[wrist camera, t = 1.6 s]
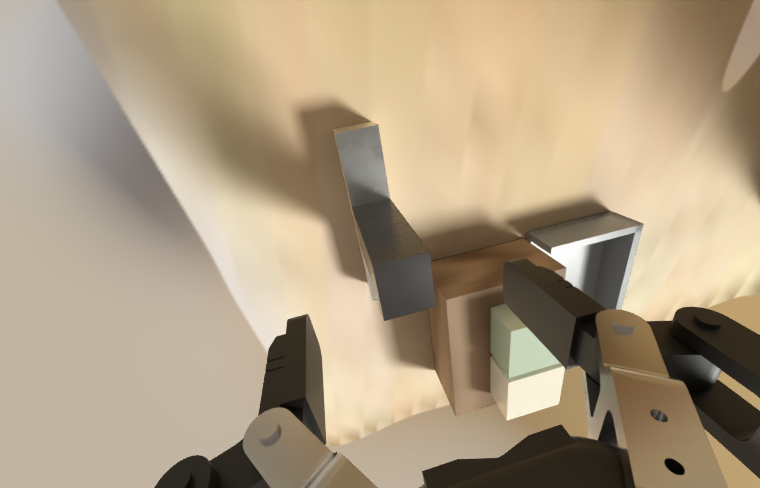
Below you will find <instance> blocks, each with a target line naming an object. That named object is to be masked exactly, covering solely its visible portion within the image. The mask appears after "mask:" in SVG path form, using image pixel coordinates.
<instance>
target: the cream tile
mask: <svg viewBox="0 0 760 488" xmlns="http://www.w3.org/2000/svg"><path fill="white" fill-rule="evenodd" d="M564 370H565V367H564V366H563V365H562V364H561V363H558V364H554V365H551V366H548V367H544V368H541V369H538V370H534V371H531V372H528V373H525V374H521V375H518V376H515V377H511V378H508V377H507V375H506V374H505V372H504V371H503V369H502V368H501V366H500V365H499V364H498V362H497V361H496V359H495V358H494V356H491V378H490V393H491V395H492V397H493V398H494V400H495V402H496V403H497V405H498V407H499V408H500V410H501V411H502V413H503V415H504V417H505V418H506V420H510V419H513V418H516V417H519V416H522V415H526V414H529V413H531V412H535V411H538V410H541V409H545V408H547V407H551V406H554V405H557V404H559V399H560V393H561V387H562V382H563V376H564Z"/></svg>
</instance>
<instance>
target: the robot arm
mask: <svg viewBox="0 0 760 488" xmlns="http://www.w3.org/2000/svg"><path fill="white" fill-rule="evenodd" d="M503 298H504V301H505V303H506V305H507V306H508V307H509V309H510V310H511V311H512V312H513V313H514V314H515V315H516V316H517V317H518V318H519V319H520V320H521V321H522V322H523V324H524V325H525V326H526V327H527V328H528V329H529V330H530V331H531V332H532V333H533V334H534V335H535V336H536V337H537V338H538V340H539V341H540V342H541V343H542V344H543V345H544V346H545V347H546V348H547V349H548V350H549V351H550V352H551V353H552V355H553V356H554V357H555V358H556V359H557V360H558V361H559V362H560V363H561V364H562V365H563V366H564V367H565V368H566V369H570V368H573V367H576V366H580V367H581V368H582V369H583V370H584V371H583V385H584V394H585V403H586V412H587V422H588V436H587V438H586V437H578V436H570V435H569V434H568V433H567V431H566V430H565V429H564V427H563V426H562V425H558V426H555V427H552V428H549V429H547V430H543V431H540V432H538V433H535V434H532V435H529V436H527V437H526V438H525V439H523V440H522V441H521V442H520V443H518V444H517V445H516V446H514V447H513V448H512V449H511V450H509V451H508V452H507V453H505V454H504V455H503V456H501V457H499V458H484V459H457V460H454V461H451V462H449V463H446V464H443V465H440V466H437V467H434V468H431V469H428V470H425V471H422V473H423V478H424V483H425V484H424V485H422V486H421V487H419V488H728V486H727V484H726V481H725V479H724V476H723V474H722V472H721V469H720V467H719V464H718V462H717V459H716V457H715V455H714V453H713V450H712V448H711V445H710V442H709V440H708V438H707V435H706V433H705V431H704V429H705V430H707V431H708V432H709V433H710V434H711V435H712V436H713V437H714V438H715V439H717V440H718V441H719V442H720V443H721V444H722V445H723V446H724V447H725V448H726V449H728V450H729V451H730V452H731V453H732V454H733V455H734V456H735V457H736V458H738V459H739V460H740V461H741V462H742V463H743V464H744V465H745V466H746V467H747V468H749V469H750V470H751V471H752V472H753V473H754V474H755V475H756V476H757V477H758V478H760V411H759V410H758V409H756V408H755V407H754V406H752V405H751V404H750V403H748V402H747V401H746V400H744V399H743V398H742V397H740V396H739V395H738V394H736V393H735V392H734V391H732V390H731V389H730V388H728V387H727V386H726V385H724V384H723V383H722V382H720V381H719V380H718V377H719V375H720V373H721V371H723V372H725V373H726V374H728V375H729V376H730V377H732V378H733V379H735V380H736V381H738V382H739V383H740V384H742V385H743V386H744V387H746V388H747V389H749V390H750V391H751V392H753V393H755V394H756V395H757V396H758V397H759V398H760V335H758V334H757V333H755V332H753V331H751V330H750V329H748V328H746V327H744V326H742V325H741V324H739V323H737V322H736V321H734V320H732V319H730V318H729V317H727V316H725V315H723V314H720V313H718V312H715V311H712V310H709V309H705V308H699V307H684V308H681V309H679V310H677V311H676V313H675V315H674V318H673V321H645V320H644V319H642V318H641V317H639V316H637V315H635V314H633V313H630V312H627V311H623V310H617V309H608V310H607V309H606V308H604V307H603V306H601V305H600V304H599V303H597V302H596V301H594V300H593V299H592V298H590V297H589V296H588V295H586V294H585V293H583V292H582V291H581V290H579V289H578V288H577V287H574V286H573V285H572V284H571V283H570V282H568V281H567V280H566V281H565V279H564V278H563V277H561V276H560V275H559V274H557V273H556V272H554V271H552V270H550V269H547V268H544V267H542V266H538V267H537V266H536V265H535V264H533V263H532V262H531V261H529V260H528V259H527V258H524V257H523V258H519V259H515V260H511V261H508V262H505V263H504V266H503ZM325 444H326V430H325V410H324V391H323V371H322V356H321V350H320V346H319V343H318V340H317V337H316V334H315V331H314V329H313V326H312V323H311V320H310V317H309V315H308V314H306V315H302V316H298V317H295V318H291V319H288V320H287V329H286V334H284V335H281V336H277V337H276V338H275V339H274V341H273V343H272V344H271V346H270V348H269V351H268V357H267V364H266V374H265V377H264V383H263V390H262V396H261V403H260V409H259V415H258V417H257V418H256V419H255V420H254V421H253V422H252V423H251V424H250V426H249V427H248V429H247V431H246V433H245V436H244V438H243V439H242V440H241V441H240V442H239V443H237V444H236V445H235V446H233V447H231V448H230V449H228V450H227V451H225V452H223V453H222V454H220V455H219V456H217V457H215V458H214V459H212V460H211V461H208V459H207V458H205V457H203V456H199V455H196V456H191V457H188V458H185V459H183V460H181V461H180V462H178V463H177V464H176V465H174V466H173V467H171V468H170V469H169V470H168V471H167V472H166V473H165V474H164V475H163V477H162V478H161V479H160V480H159V482H158V483H157V485H156V486H155V488H377V487H376V486H375V485H374V484H373V483H372V482H371V481H370V480H369V479H368V478H367V477H366V476H365V475H364V474H363V473H362V472H361V471H359V470H358V469H357V468H356V467H355V466H354V465H353V464H352V463H351V462H350V461H349V460H348V459H347V458H346V457H345V456H343V455H342V454H341V453H339V452H336V453H333V452H331V451H330V450H329V449H328V448H327V447H326V446H325Z"/></svg>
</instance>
